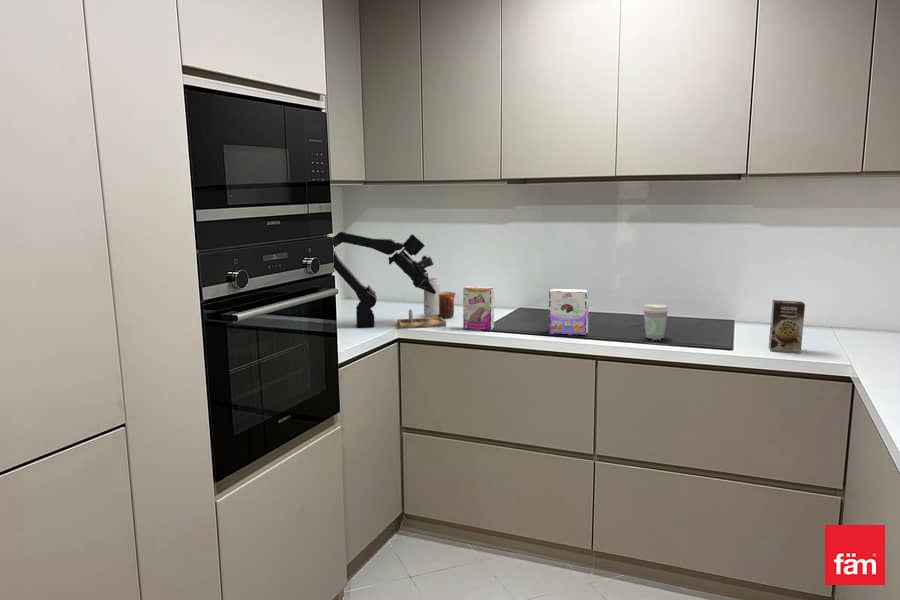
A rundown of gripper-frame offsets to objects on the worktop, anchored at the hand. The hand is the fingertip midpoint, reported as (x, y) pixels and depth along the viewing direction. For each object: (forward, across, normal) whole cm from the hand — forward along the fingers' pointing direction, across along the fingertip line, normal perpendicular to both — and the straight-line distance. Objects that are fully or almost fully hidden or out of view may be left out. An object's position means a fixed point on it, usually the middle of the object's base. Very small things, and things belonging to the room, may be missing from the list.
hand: (435, 292), depth 261 cm
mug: (+13, +14, +6) cm, 20 cm away
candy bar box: (+21, -10, -2) cm, 24 cm away
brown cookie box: (+88, -54, -71) cm, 125 cm away
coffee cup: (+63, -33, -46) cm, 84 cm away
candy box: (+43, -21, -25) cm, 55 cm away
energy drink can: (+6, 0, +8) cm, 10 cm away
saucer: (+3, -1, +16) cm, 16 cm away
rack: (+6, -1, +13) cm, 14 cm away
